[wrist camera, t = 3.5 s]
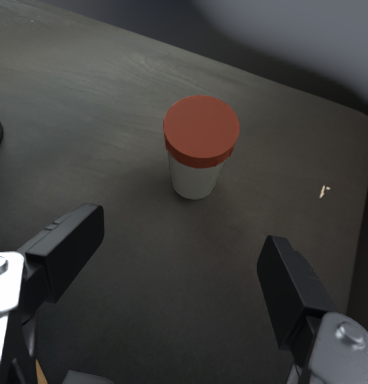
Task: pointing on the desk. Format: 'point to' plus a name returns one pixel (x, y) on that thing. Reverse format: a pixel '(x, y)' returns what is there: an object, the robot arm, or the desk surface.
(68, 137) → the desk surface
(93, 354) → the desk surface
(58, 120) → the desk surface
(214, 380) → the desk surface
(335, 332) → the robot arm
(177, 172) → the jar
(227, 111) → the lid
